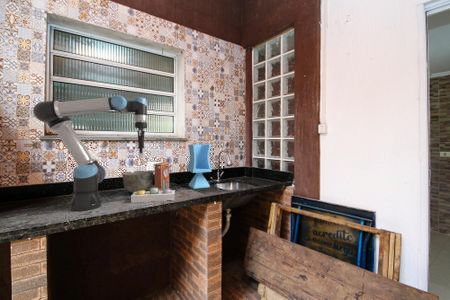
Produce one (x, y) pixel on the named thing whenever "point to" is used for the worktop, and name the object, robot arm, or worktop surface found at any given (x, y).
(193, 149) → the planter
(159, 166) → the cracker box
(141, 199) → the console
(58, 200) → the worktop surface
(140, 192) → the button mustard
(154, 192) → the button sage
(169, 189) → the button blue
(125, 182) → the bowl
